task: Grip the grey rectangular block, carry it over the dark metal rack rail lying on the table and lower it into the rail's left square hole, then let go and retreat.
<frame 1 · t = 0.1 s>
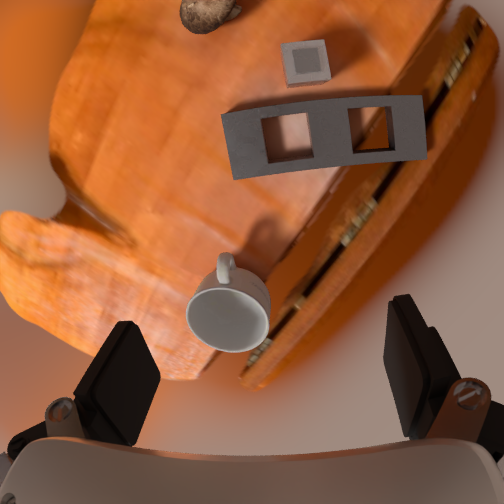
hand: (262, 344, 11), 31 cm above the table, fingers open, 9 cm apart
rack rail: (327, 131, 36), on the table
grey rectangular block: (301, 70, 33), on the table
teacup: (236, 280, 47), on the table
mushroom: (213, 10, 31), on the table
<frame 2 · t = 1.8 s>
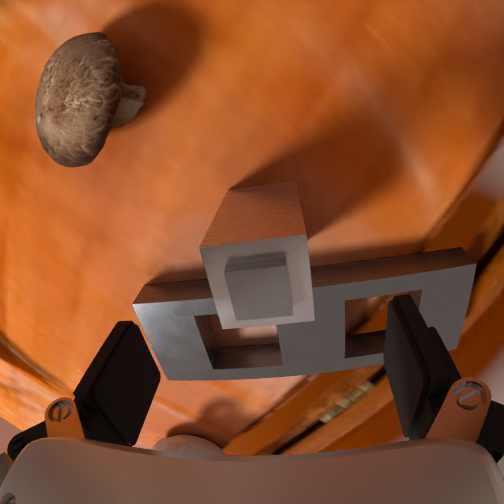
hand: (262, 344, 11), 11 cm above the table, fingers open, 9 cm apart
rack rail: (309, 313, 24), on the table
grey rectangular block: (267, 216, 20), on the table
teacup: (193, 439, 34), on the table
mushroom: (104, 96, 18), on the table
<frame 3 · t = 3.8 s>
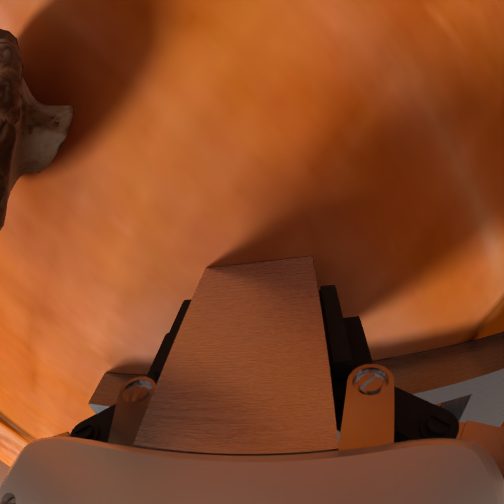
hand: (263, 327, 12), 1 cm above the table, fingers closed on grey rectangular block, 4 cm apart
rack rail: (320, 414, 16), on the table
grey rectangular block: (265, 306, 13), on the table, touching gripper
mushroom: (27, 123, 11), on the table
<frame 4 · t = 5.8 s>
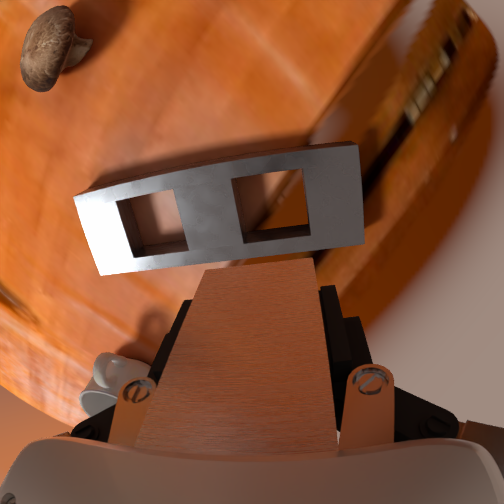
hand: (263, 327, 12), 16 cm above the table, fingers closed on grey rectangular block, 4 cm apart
rack rail: (214, 206, 27), on the table
grey rectangular block: (265, 308, 13), point 15 cm above the table, touching gripper
teacup: (137, 366, 38), on the table
mushroom: (68, 50, 22), on the table
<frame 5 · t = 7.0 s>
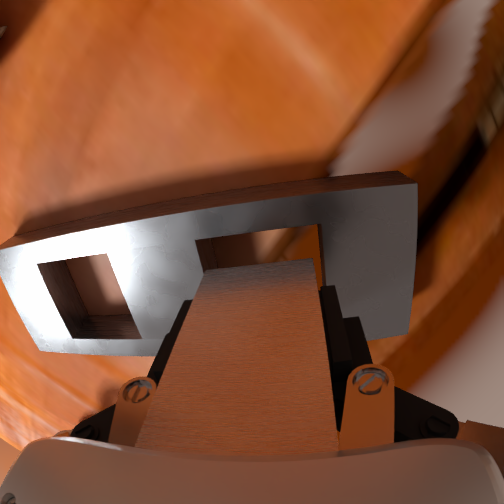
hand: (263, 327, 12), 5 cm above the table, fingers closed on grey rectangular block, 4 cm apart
rack rail: (178, 271, 18), on the table
grey rectangular block: (266, 308, 13), point 4 cm above the table, touching gripper
when the fingers open (3 cm above the table, at t = 8.1 s): grey rectangular block drops 2 cm, resting in rack rail.
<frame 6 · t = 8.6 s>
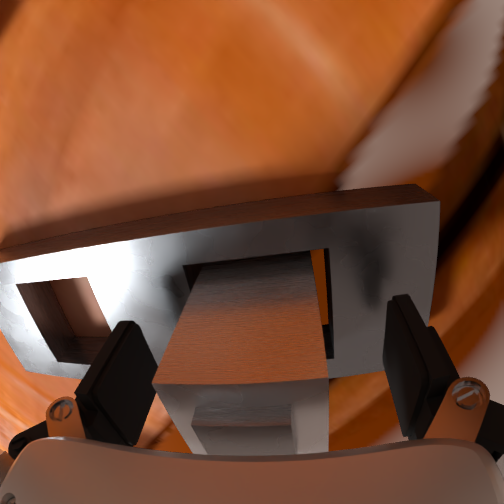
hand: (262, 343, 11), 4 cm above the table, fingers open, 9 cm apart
rack rail: (167, 294, 16), on the table
grey rectangular block: (265, 282, 15), resting in rack rail
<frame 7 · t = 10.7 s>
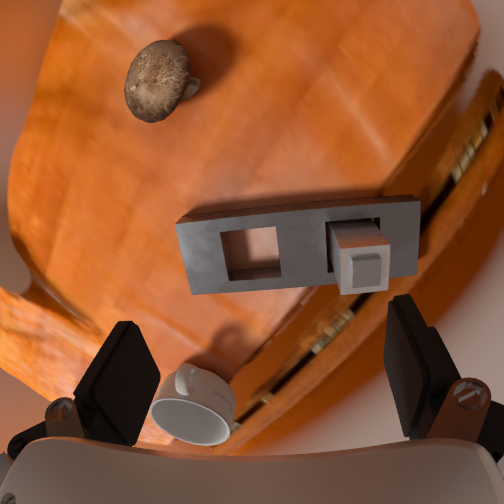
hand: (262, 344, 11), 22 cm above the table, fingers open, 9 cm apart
rack rail: (301, 240, 33), on the table
grey rectangular block: (348, 235, 32), resting in rack rail
teacup: (202, 375, 43), on the table
mushroom: (168, 83, 28), on the table
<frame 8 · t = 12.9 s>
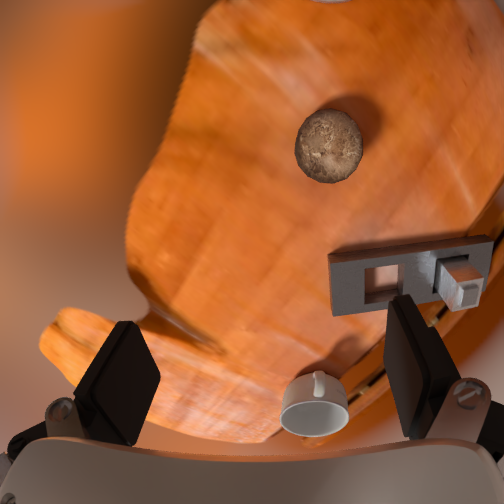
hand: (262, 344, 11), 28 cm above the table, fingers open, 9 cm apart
rack rail: (413, 270, 40), on the table
grey rectangular block: (443, 264, 40), resting in rack rail
teacup: (315, 378, 51), on the table
mushroom: (324, 142, 35), on the table
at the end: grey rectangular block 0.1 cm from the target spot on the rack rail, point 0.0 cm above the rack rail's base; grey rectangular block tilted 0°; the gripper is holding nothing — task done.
